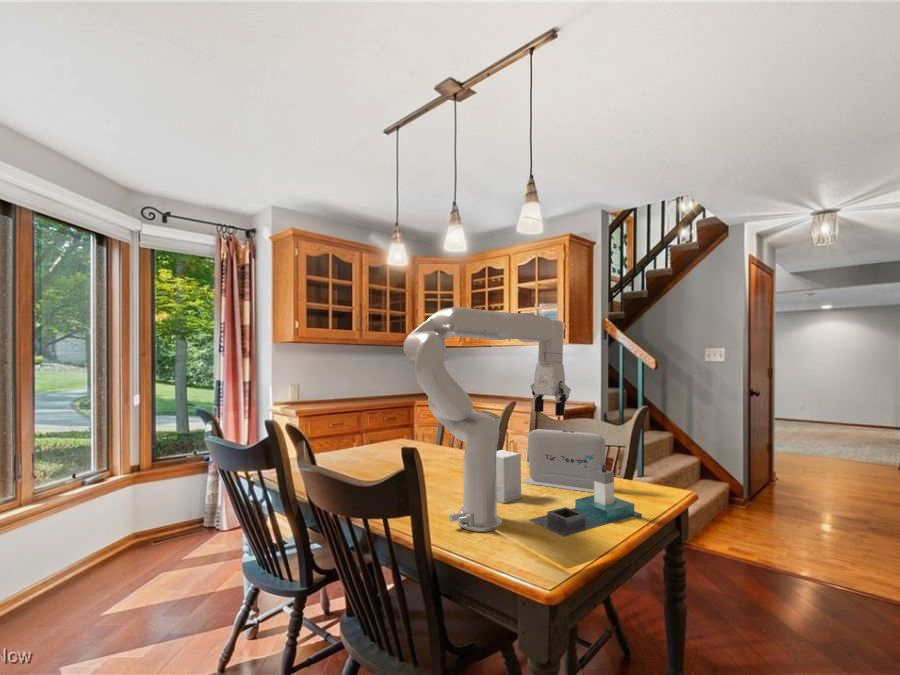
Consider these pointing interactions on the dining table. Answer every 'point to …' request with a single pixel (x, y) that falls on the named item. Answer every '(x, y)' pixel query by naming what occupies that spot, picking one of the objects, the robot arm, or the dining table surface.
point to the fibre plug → (604, 486)
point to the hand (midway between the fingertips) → (549, 413)
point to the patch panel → (585, 516)
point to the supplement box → (508, 476)
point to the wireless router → (564, 459)
